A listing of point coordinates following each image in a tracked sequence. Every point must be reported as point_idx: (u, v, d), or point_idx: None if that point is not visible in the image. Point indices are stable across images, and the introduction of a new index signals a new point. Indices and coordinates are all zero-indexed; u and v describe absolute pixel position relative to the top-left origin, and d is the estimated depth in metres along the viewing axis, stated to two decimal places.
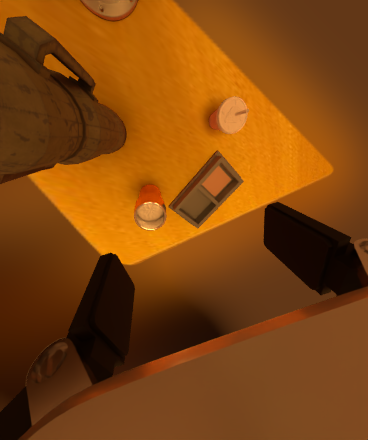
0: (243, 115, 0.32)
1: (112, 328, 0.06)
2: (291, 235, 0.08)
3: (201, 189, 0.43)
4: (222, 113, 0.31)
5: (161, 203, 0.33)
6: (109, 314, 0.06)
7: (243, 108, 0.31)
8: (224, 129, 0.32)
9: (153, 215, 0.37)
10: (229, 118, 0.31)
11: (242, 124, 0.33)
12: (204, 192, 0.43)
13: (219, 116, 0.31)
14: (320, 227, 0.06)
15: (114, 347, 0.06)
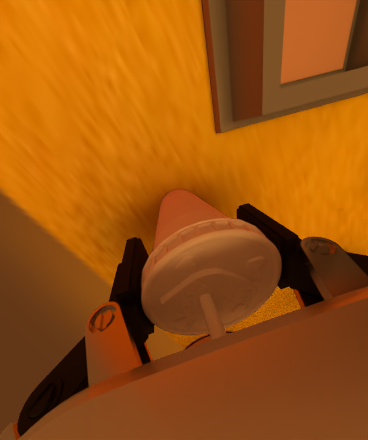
0: (170, 279, 0.06)
1: None
2: None
3: None
4: (246, 306, 0.08)
5: None
6: None
7: (160, 301, 0.06)
8: (277, 265, 0.07)
9: None
10: (238, 295, 0.07)
11: (192, 248, 0.05)
12: None
13: (260, 304, 0.08)
14: (276, 227, 0.07)
15: None
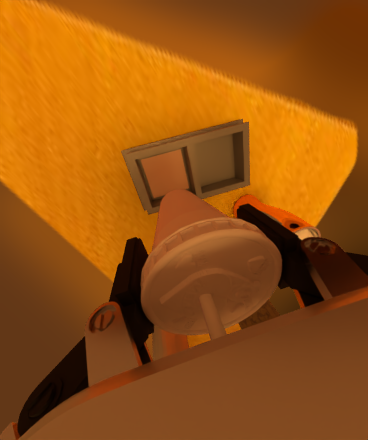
0: (169, 279, 0.06)
1: None
2: None
3: (198, 189, 0.27)
4: (247, 306, 0.08)
5: None
6: None
7: (160, 301, 0.06)
8: (277, 265, 0.07)
9: None
10: (239, 295, 0.07)
11: (192, 248, 0.05)
12: (197, 181, 0.26)
13: (260, 304, 0.08)
14: (276, 226, 0.07)
15: None
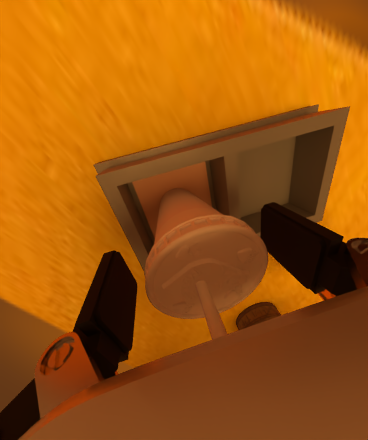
0: (170, 267, 0.07)
1: (116, 323, 0.06)
2: (286, 235, 0.08)
3: None
4: (238, 293, 0.09)
5: None
6: (113, 310, 0.06)
7: (162, 287, 0.07)
8: (263, 256, 0.08)
9: None
10: (230, 282, 0.08)
11: (189, 240, 0.06)
12: None
13: (249, 291, 0.09)
14: (314, 227, 0.07)
15: (118, 342, 0.06)
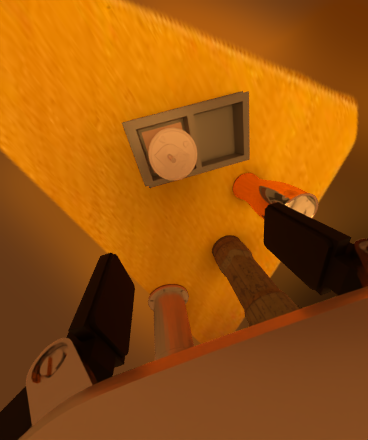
0: (157, 146, 0.19)
1: (112, 328, 0.06)
2: (291, 235, 0.08)
3: (198, 162, 0.27)
4: (187, 168, 0.21)
5: None
6: (109, 314, 0.06)
7: (154, 155, 0.20)
8: (194, 146, 0.20)
9: None
10: (181, 157, 0.20)
11: (163, 133, 0.19)
12: (197, 154, 0.26)
13: (192, 167, 0.21)
14: (320, 227, 0.06)
15: (114, 347, 0.06)
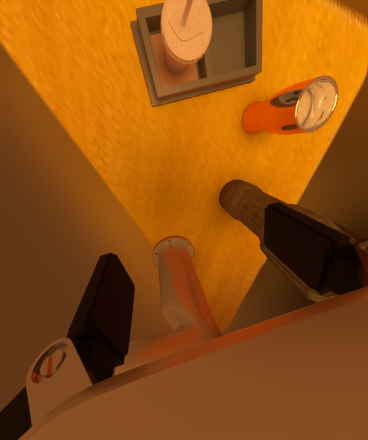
0: (171, 8, 0.18)
1: (112, 328, 0.06)
2: (291, 235, 0.08)
3: (209, 69, 0.26)
4: (201, 45, 0.20)
5: (287, 110, 0.23)
6: (109, 314, 0.06)
7: (167, 22, 0.18)
8: (209, 14, 0.19)
9: None
10: (195, 27, 0.19)
11: None
12: (208, 58, 0.25)
13: (206, 45, 0.20)
14: (320, 227, 0.06)
15: (114, 347, 0.06)
